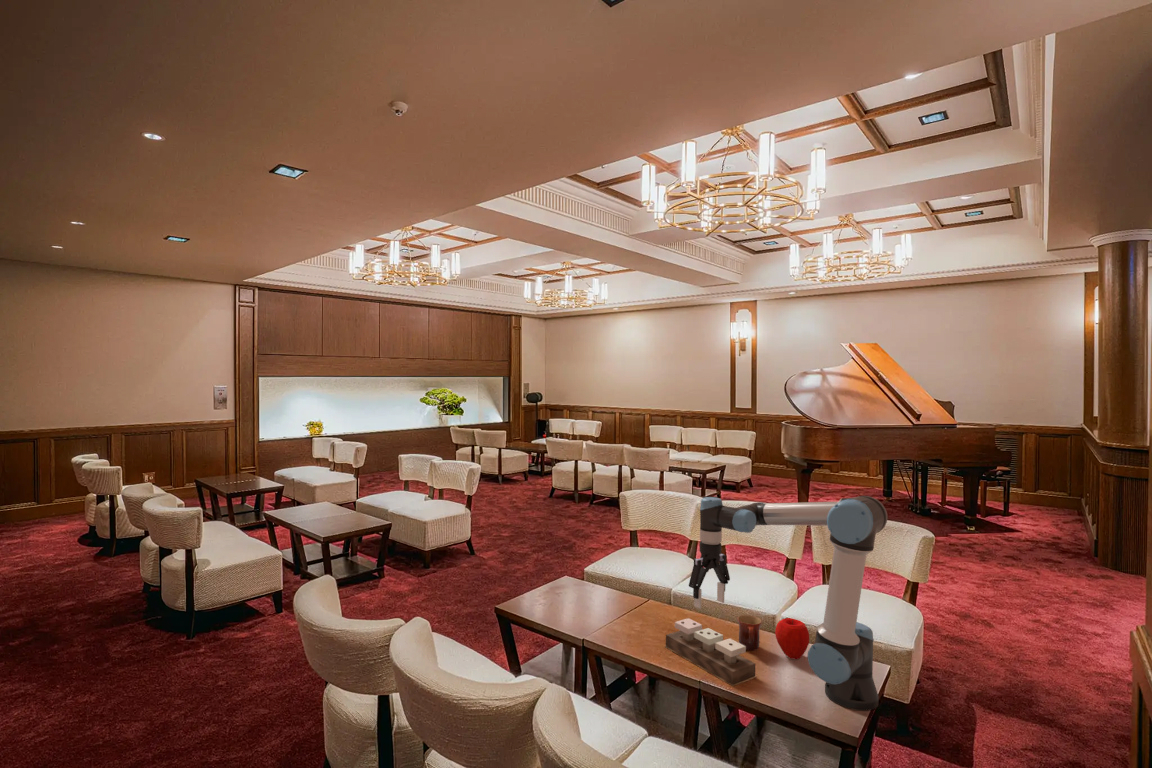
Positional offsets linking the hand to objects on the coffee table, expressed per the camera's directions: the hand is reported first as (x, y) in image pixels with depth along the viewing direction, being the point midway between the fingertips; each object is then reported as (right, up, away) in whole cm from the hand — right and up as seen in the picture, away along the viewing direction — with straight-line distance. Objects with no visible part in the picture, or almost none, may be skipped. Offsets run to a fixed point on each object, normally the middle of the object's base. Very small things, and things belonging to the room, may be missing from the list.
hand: (709, 604), depth 199 cm
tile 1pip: (+5, -17, -9) cm, 19 cm away
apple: (+31, -21, +5) cm, 38 cm away
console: (-1, -20, 0) cm, 20 cm away
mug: (+17, -21, +10) cm, 29 cm away
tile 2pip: (-6, -17, +8) cm, 19 cm away
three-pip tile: (0, -17, 0) cm, 17 cm away
